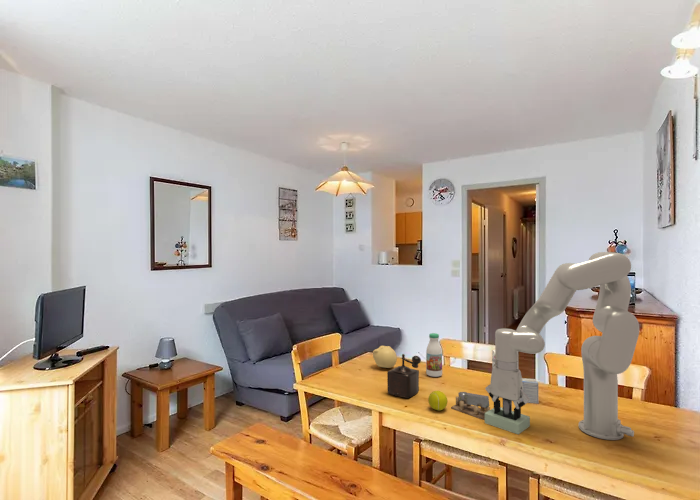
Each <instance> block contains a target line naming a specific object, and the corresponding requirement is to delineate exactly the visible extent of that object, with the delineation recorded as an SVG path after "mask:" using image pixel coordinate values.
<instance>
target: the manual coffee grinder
mask: <svg viewBox="0 0 700 500" xmlns="http://www.w3.org/2000/svg"><path fill="white" fill-rule="evenodd" d="M401 359H402V360H401V361H402V362H401V365H399V366H396V367H394V368H392V369H390V370H388V371H387V372H386V373H387V377H386V378H387V392H386V393H387V394H389V395H393V396H395V397H401V398H407V399H409V398H412V397H413V396H415V395H417V394H418V393H419V391H420V389H419V388H420V387H419V385H420V375H419V374H420V371H419V369H418V368H419V364H421V362H422V359H421V357H420V356H418V355H413V356H412V357H411V360H409V359H407V358H406V355H405V353H402V354H401ZM405 362H407V363H408V364H411V366H412V368H411V367H408V366H406V365H405Z"/></svg>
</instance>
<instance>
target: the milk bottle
mask: <svg viewBox="0 0 700 500" xmlns="http://www.w3.org/2000/svg"><path fill="white" fill-rule="evenodd" d="M428 337H429V341H428V344H427V347H426V351H425V353H426V354H425V364H426V365H425V368H426V369H425V371H426V372H425V373H426V375H428V376H430V377H435V378H437V377H441V376H442V375H443V350H442V346H441V345H440V341H439V340H440V338H439V337H440V334H439V333H436V332H435V333H434V332H432V333H429V336H428Z"/></svg>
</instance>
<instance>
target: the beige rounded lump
mask: <svg viewBox="0 0 700 500" xmlns="http://www.w3.org/2000/svg"><path fill="white" fill-rule="evenodd" d="M372 359H373V361H374V362H375V365H377V367H379V368H385V369H386V368H387V369H389V368H393V367H394V366H395V365H396V364H397V362H398V361H397V360H398V357H397V353H396V351H395V349H393V348H392V347H391V346H389V345H387V346H386V345H380V346H379V347H378V348H376V349H374V350H373V351H372Z"/></svg>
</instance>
